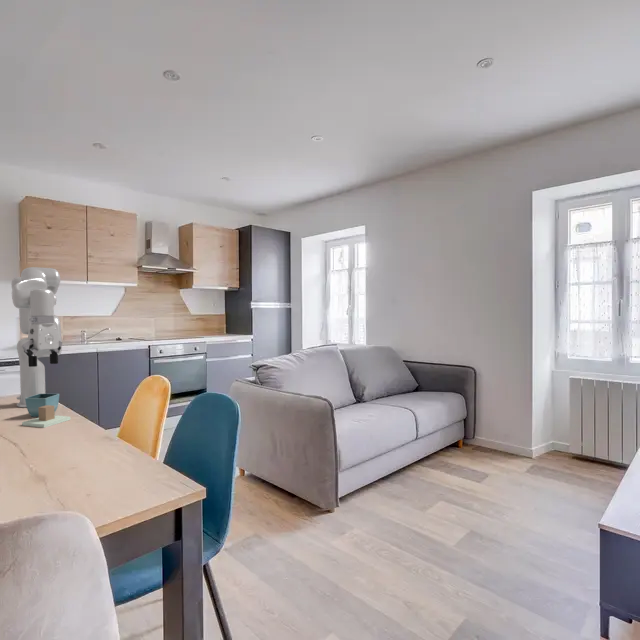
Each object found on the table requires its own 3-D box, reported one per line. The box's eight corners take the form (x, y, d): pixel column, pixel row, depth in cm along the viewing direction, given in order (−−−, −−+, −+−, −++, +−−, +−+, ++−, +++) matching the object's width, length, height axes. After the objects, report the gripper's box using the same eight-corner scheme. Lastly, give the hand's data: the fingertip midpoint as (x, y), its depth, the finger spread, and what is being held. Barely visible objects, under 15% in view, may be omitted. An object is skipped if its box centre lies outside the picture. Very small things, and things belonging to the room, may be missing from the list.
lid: (22, 425, 152) (21, 409, 152) (49, 417, 163) (48, 402, 162) (44, 427, 149) (43, 410, 149) (70, 419, 159) (70, 404, 159)
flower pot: (46, 420, 163) (45, 398, 163) (24, 420, 163) (24, 398, 163) (60, 414, 172) (60, 393, 172) (40, 414, 172) (39, 393, 172)
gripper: (31, 320, 147) (32, 367, 147) (68, 320, 164) (69, 362, 164) (13, 321, 149) (15, 367, 149) (52, 321, 166) (53, 362, 166)
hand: (43, 365), depth 156 cm, fingers open, 9 cm apart
